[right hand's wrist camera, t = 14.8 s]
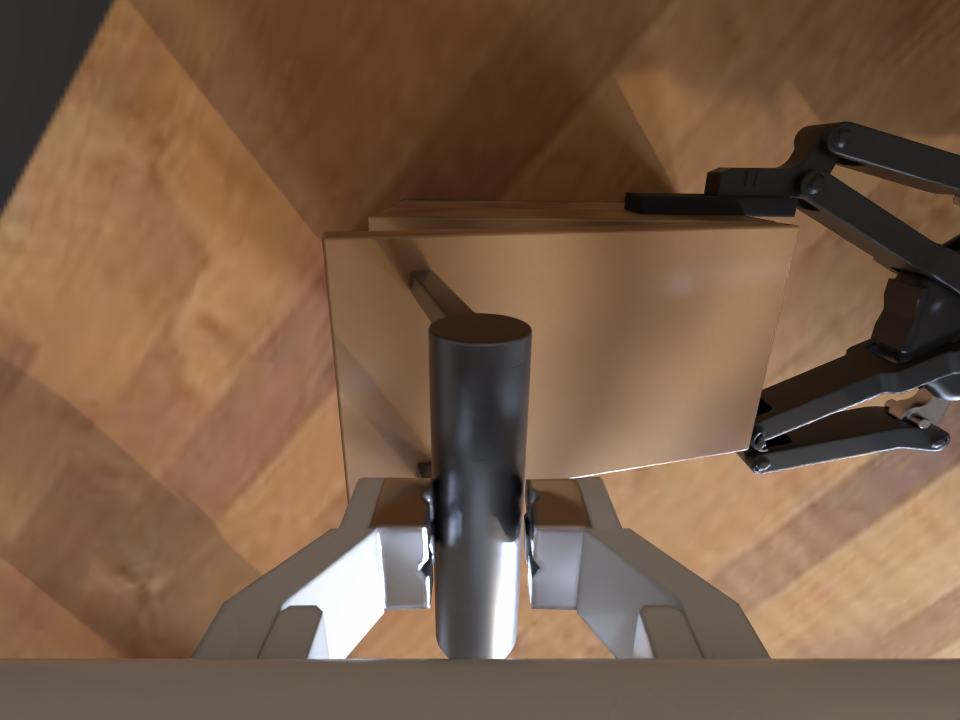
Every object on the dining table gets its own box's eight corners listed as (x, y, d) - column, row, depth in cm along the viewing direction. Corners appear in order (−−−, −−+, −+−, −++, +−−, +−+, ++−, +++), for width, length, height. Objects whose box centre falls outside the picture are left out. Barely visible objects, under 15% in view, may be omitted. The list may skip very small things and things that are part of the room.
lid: (347, 495, 18) (364, 728, 11) (321, 231, 15) (321, 301, 7) (728, 436, 23) (931, 574, 15) (773, 221, 19) (1063, 260, 12)
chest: (409, 355, 32) (381, 432, 23) (403, 199, 28) (367, 216, 19) (659, 358, 32) (731, 436, 23) (682, 202, 28) (777, 221, 19)
